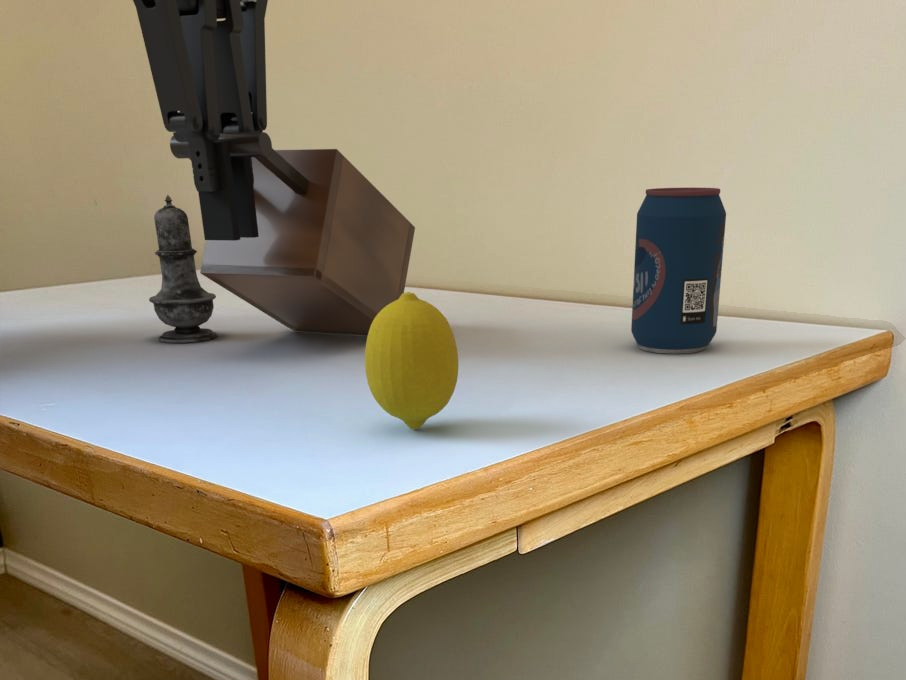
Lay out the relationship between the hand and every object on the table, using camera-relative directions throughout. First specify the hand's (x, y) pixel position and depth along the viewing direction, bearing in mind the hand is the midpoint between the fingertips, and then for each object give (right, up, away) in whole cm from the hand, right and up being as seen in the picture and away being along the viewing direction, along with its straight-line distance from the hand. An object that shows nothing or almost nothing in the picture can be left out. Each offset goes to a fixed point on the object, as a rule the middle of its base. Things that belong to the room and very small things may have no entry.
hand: (231, 237), depth 76 cm
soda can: (+35, -6, +8) cm, 36 cm away
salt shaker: (-8, -3, +16) cm, 18 cm away
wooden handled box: (+2, -2, +7) cm, 7 cm away
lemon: (+15, -18, -15) cm, 27 cm away
